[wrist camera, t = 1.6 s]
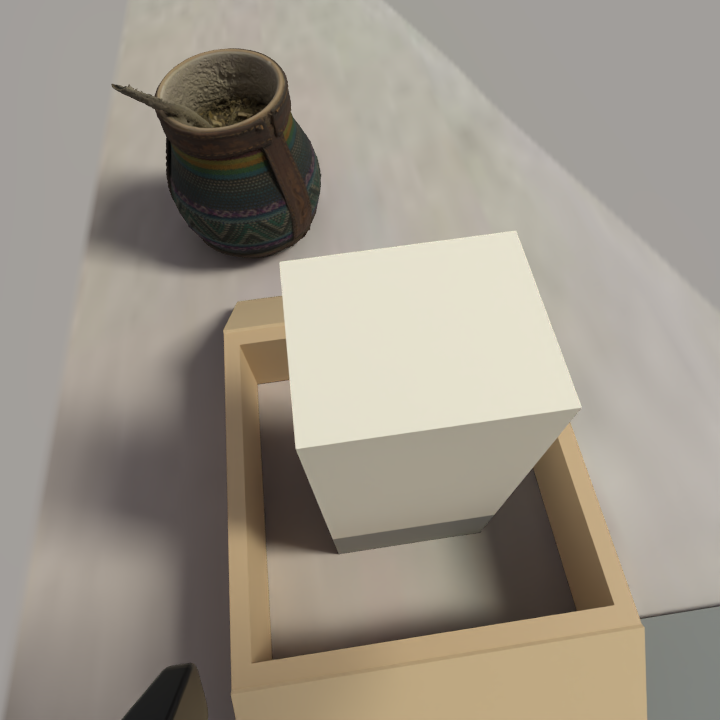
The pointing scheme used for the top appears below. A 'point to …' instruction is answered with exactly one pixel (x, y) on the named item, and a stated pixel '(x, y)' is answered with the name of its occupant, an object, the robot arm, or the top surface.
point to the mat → (683, 665)
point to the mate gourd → (236, 152)
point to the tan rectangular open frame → (437, 651)
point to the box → (420, 385)
